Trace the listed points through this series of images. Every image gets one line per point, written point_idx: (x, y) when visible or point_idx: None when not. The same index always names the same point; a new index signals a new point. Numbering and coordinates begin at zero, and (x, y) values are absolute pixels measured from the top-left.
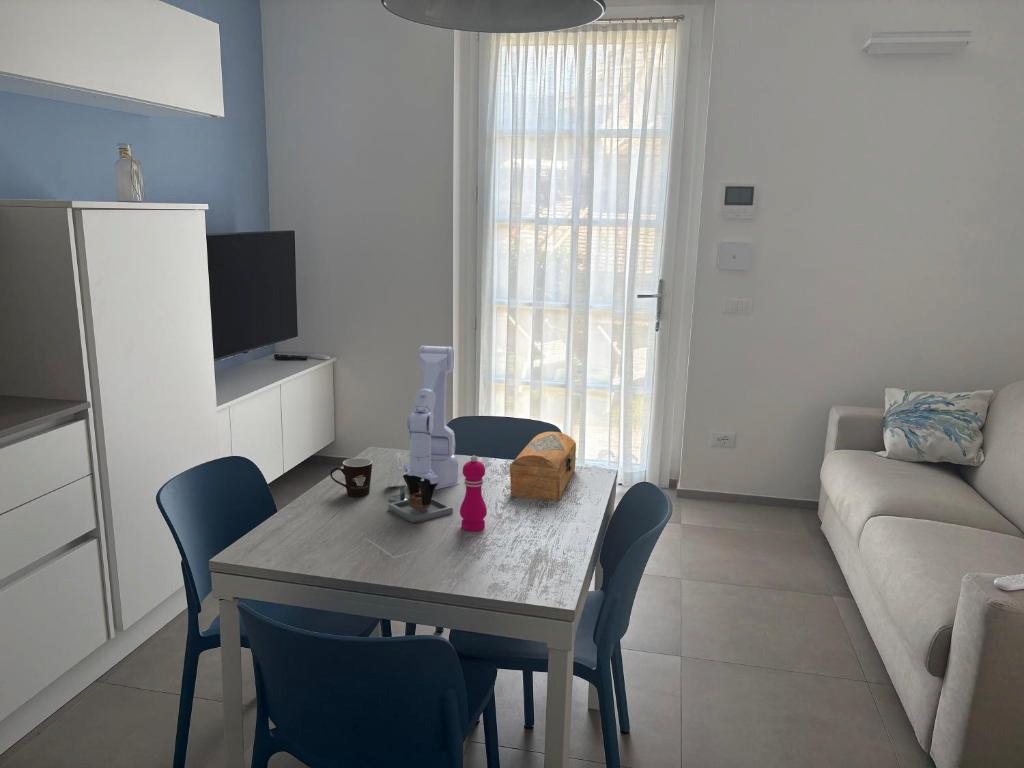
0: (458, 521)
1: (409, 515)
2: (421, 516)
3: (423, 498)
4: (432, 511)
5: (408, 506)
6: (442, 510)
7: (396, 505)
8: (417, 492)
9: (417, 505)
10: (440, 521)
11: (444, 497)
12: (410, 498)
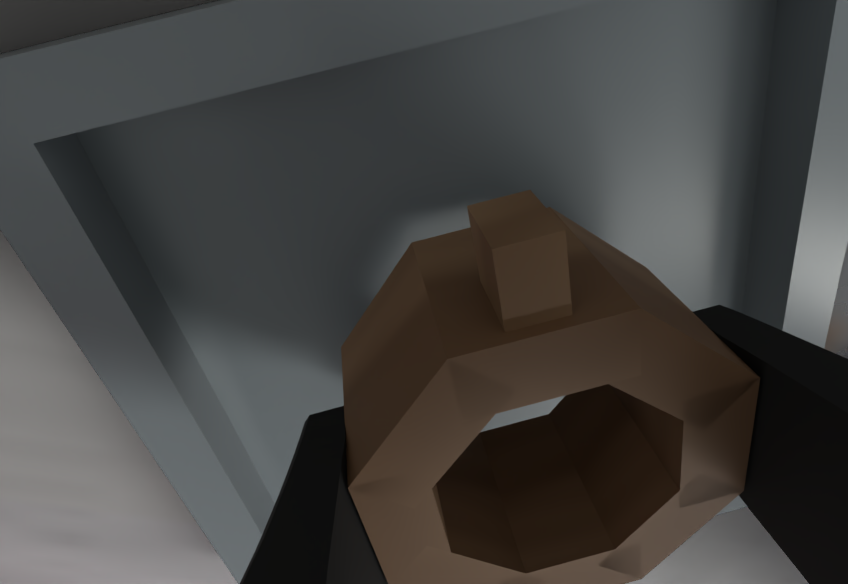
0: (18, 581)
1: (67, 42)
2: (35, 258)
3: (267, 533)
4: (191, 450)
5: (686, 212)
6: (217, 548)
7: (799, 20)
8: (739, 477)
9: (386, 323)
10: (47, 437)
11: (706, 567)
12: (538, 288)
